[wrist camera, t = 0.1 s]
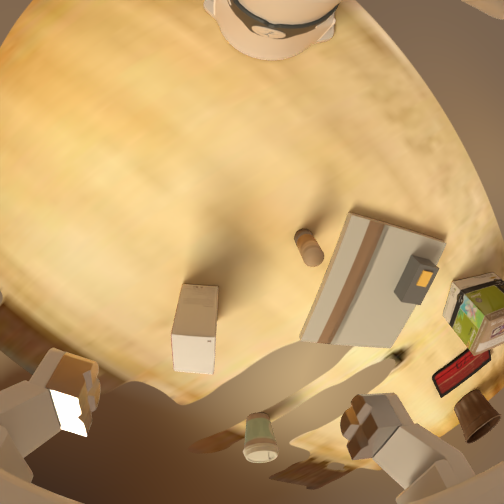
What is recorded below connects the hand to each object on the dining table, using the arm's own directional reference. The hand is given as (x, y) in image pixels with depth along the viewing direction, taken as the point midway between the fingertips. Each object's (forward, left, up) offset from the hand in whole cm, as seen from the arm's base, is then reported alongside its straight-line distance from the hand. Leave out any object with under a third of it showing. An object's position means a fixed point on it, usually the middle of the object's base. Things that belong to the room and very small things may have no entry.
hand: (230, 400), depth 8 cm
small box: (+25, 0, -39) cm, 46 cm away
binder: (+37, +78, -40) cm, 95 cm away
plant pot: (+56, +100, -39) cm, 121 cm away
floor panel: (+16, +31, -39) cm, 52 cm away
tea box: (+13, +59, -39) cm, 72 cm away
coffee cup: (+59, +20, -39) cm, 73 cm away
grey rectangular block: (+11, +37, -37) cm, 54 cm away
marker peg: (+9, +14, -39) cm, 42 cm away
